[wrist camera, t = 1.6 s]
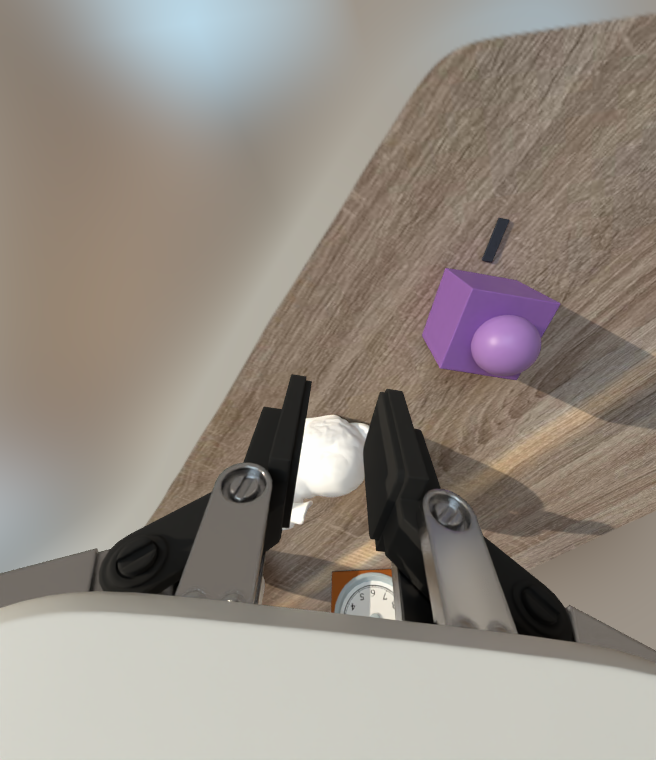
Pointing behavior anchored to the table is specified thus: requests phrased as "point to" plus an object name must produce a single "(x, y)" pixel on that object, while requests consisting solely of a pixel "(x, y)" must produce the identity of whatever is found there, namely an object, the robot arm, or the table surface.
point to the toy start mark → (495, 239)
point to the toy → (487, 324)
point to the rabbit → (328, 461)
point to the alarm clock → (363, 593)
